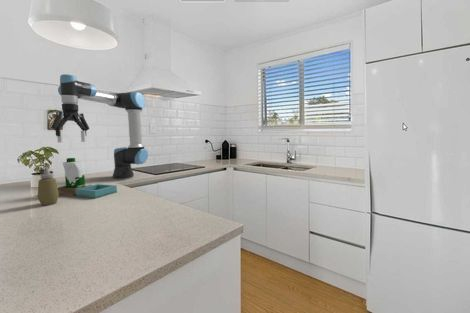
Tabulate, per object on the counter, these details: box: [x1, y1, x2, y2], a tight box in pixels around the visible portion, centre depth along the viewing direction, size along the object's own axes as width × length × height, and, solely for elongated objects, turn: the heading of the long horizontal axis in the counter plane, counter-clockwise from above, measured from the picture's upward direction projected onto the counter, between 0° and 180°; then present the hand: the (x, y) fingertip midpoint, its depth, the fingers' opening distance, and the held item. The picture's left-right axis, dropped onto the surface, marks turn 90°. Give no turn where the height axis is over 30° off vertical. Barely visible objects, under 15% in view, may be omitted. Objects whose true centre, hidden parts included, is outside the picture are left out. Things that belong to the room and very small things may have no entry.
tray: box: [75, 183, 118, 200], centre depth 132 cm, size 14×14×4 cm
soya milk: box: [62, 157, 86, 189], centre depth 135 cm, size 9×9×20 cm
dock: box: [57, 184, 93, 197], centre depth 135 cm, size 11×13×4 cm
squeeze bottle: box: [37, 166, 60, 206], centre depth 114 cm, size 8×8×18 cm
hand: (72, 142), depth 133 cm, fingers open, 13 cm apart
